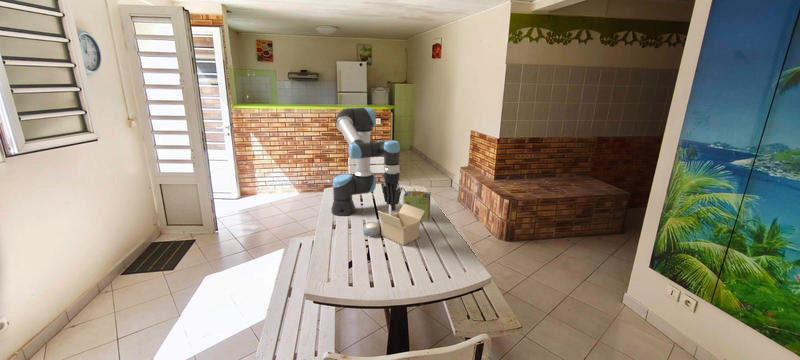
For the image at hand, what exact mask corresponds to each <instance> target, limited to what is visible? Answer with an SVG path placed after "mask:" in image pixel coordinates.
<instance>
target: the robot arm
mask: <svg viewBox="0 0 800 360" xmlns="http://www.w3.org/2000/svg"><path fill="white" fill-rule="evenodd" d="M334 124H335V127H336V128H337V130H338V131H339V132H340V133H342V135H343V137H344V139H345V141H346V142H347V145H348V148H347V152H348V157H349V158H350V159H353V160H356V170H355V171H354V175H353V176H352V175H351V174H349V173H347V174H345V173H343V174H338V175H337V176H335V177H334V178H333V179H332V190H333V191H332V194H333V200H332V201H333V202H332V206H331V209H330V210H331V214H333V215H335V216H339V217H341V216H345V217H346V216H350V215H353V214H355V213H356V206H355V203H354V200H353V196H354V195H355V196H356V195H362V194H364V195H365V194H370V193H374V191H375V190H376V186H377V185H376V184H377V181H376V175H375V174H373V173H374V172H373V171H372V170H371V158H380V157H383V169H384V172H383V173H384V174H383V179H384V181H383V182H382V183H381V184H380V185H381V188H382V193H383V198H384V202H385V203H387V210H388V215H391V216H394V213H395V211H396V205H399V202H400V199H401V194H402V191H403V189H404V188H403V187H402V186H400V183H399V180H400V151H401V149H400V148H401V147H400V142H399V141H397V140H394V139H393V140H392V139H391V140H382V139H381V140H378V141H373V142H371V133H372V132H373V128H375V127H376V126H377V125H376V124H377V119H376V114H375V112H374V110H373V109H372V108H371V107H352V108H351V107H349V108H347V107H346V108H344V109H341V110H340V111H339V112H338V113H337V115H336V116H335V120H334Z"/></svg>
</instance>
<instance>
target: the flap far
mask: <svg viewBox="0 0 800 360" xmlns="http://www.w3.org/2000/svg"><path fill="white" fill-rule="evenodd" d="M398 212H399V213H401V214H404V215H407V216H410V217H412V218H415V219H418V220H421V218H422V216H423V214H424V213H425V210H422V209H419V208H416V207H413V206H410V205H407V204H404V205H401V208H400V209H399V211H398Z"/></svg>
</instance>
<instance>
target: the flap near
mask: <svg viewBox="0 0 800 360" xmlns="http://www.w3.org/2000/svg"><path fill="white" fill-rule="evenodd" d="M377 213H378V216H379V218H380V221H381V220H383V221H385V222H388V223H390V224H393V225H395V226H398V227H400V228H402V225H401V222H400V219H398V218H396V217H393V216H391V215H389V213H388V214H387V213H386V212H383V211H380V210H377Z"/></svg>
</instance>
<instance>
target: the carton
mask: <svg viewBox="0 0 800 360" xmlns="http://www.w3.org/2000/svg"><path fill="white" fill-rule="evenodd" d="M393 217H396V218H398V219H400V222H401V225H402V228H400V227H398V226H395V225H393V224H390V223H388V222H385V221H383V220H381V219H380V221H381V224H380V235H381V237H383V238H385V239H388V240H390V241H392V242H394V243H396V244H399V245H401V246H406V245H408V244H410V243H411V242H413V241H416V240H417V239H419V238H420V227H421V226H420V225H421V223H420V222H421V221H420V220H417V219H415V218H412V217H409V216H407V215H404V214H402V213H399V211H398V212H394V216H393Z"/></svg>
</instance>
